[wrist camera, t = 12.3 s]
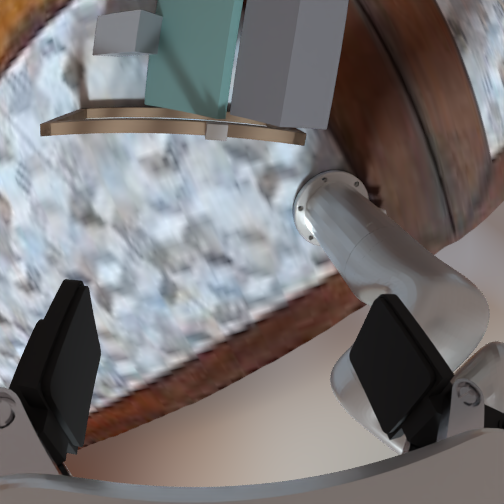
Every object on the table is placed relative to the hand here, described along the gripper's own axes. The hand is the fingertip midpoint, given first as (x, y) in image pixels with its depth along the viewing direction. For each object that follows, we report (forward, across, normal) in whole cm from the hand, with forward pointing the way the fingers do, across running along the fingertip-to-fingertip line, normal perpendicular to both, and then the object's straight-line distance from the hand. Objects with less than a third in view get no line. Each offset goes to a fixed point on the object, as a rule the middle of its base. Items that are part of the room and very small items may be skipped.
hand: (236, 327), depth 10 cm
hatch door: (+30, -4, -13) cm, 33 cm away
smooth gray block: (+30, +8, -13) cm, 34 cm away
